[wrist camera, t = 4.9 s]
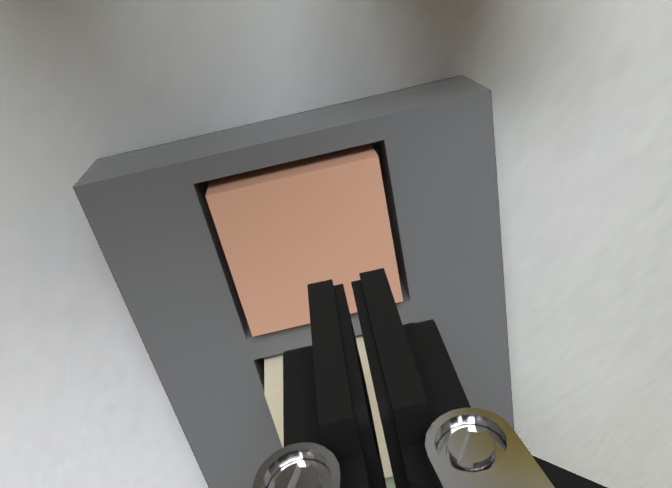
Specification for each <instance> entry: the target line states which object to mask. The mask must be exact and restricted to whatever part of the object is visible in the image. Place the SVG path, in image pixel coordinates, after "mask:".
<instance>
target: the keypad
mask: <svg viewBox="0 0 672 488" xmlns="http://www.w3.org/2000/svg"><path fill="white" fill-rule="evenodd" d="M369 143H371V145H372V147H373V148H374V150H375V152H376V153H377V155H378V157H379V163H380V169H381V175H382V180H383V186H384V192H385V198H386V204H387V210H388V216H389V221H390V227H391V233H392V239H393V245H394V251H395V256H396V262H397V268H398V274H399V280H400V286H401V291H402V297H403V302H398V303H396V306H397V309H398V312H399V315H400V318H401V322H402V325H408V324H413V323H418V322H422V321H427V320H431V319H433V320H434V321H435V323H436V325H437V328H438V330H439V332H440V335H441V337H442V340H443V342H444V344H445V347H446V349H447V352H448V354H449V356H450V359H451V361H452V363H453V366H454V368H455V371H456V373H457V375H458V378H459V380H460V383H461V385H462V387H463V390H464V392H465V395H466V397H467V399H468V402H469V404H470V406H471V408H480V409H484V410H487V411H491V412H493V413H495V414H496V415H498V416H500V417H502V418H503V419H504V420H505V421H506V422H507V423H508V424H509V425H510V426H511V427H512V428H513V430H514V421H513V406H512V391H511V377H510V362H509V347H508V332H507V318H506V303H505V288H504V274H503V259H502V244H501V229H500V215H499V200H498V185H497V171H496V156H495V141H494V127H493V112H492V97H491V90H489V89H487V88H485V87H483V86H481V85H480V84H478V83H476V82H474V81H472V80H470V79H468V78H467V77H465V76H463V75H462V76H458V77H453V78H449V79H445V80H440V81H436V82H432V83H427V84H423V85H419V86H414V87H410V88H406V89H401V90H397V91H393V92H388V93H384V94H380V95H375V96H371V97H366V98H362V99H358V100H353V101H349V102H345V103H340V104H336V105H332V106H327V107H323V108H319V109H314V110H310V111H306V112H301V113H297V114H293V115H288V116H284V117H280V118H275V119H271V120H266V121H262V122H258V123H253V124H249V125H245V126H240V127H236V128H232V129H227V130H223V131H219V132H214V133H210V134H206V135H201V136H197V137H193V138H188V139H184V140H180V141H175V142H171V143H166V144H162V145H158V146H153V147H149V148H145V149H140V150H136V151H132V152H127V153H123V154H119V155H114V156H110V157H106V158H101V159H97V160H96V161H95V162H94V163H93V165H92V166H91V167H90V168H89V169H88V170H87V171H86V173H85V174H84V175H83V176H82V177H81V178H80V179H79V181H78V182H77V183H76V184H75V185H74V186H73V188H74V191H75V193H76V195H77V197H78V199H79V202H80V204H81V206H82V208H83V211H84V213H85V215H86V217H87V219H88V222H89V224H90V226H91V228H92V230H93V233H94V235H95V237H96V239H97V241H98V244H99V246H100V248H101V250H102V253H103V255H104V257H105V259H106V261H107V264H108V266H109V268H110V270H111V272H112V275H113V277H114V279H115V281H116V283H117V286H118V288H119V290H120V292H121V295H122V297H123V299H124V301H125V303H126V306H127V308H128V310H129V312H130V314H131V317H132V319H133V321H134V323H135V325H136V328H137V330H138V332H139V334H140V337H141V339H142V341H143V343H144V345H145V348H146V350H147V352H148V354H149V356H150V359H151V361H152V363H153V365H154V367H155V370H156V372H157V374H158V376H159V379H160V381H161V383H162V385H163V387H164V390H165V392H166V394H167V396H168V398H169V401H170V403H171V405H172V407H173V409H174V412H175V414H176V416H177V418H178V421H179V423H180V425H181V427H182V429H183V432H184V434H185V436H186V438H187V440H188V443H189V445H190V447H191V449H192V451H193V454H194V456H195V458H196V460H197V463H198V465H199V467H200V469H201V471H202V474H203V476H204V478H205V480H206V482H207V485H208V487H209V488H252V485H253V481H254V479H255V476H256V473H257V471H258V469H259V468H260V467H261V465H262V464H263V463H264V461H265V460H266V459H267V458H268V457H270V456H271V455H272V454H273V453H274V452H276V451H277V450H279V449H282V448H283V447H282V445H281V442H280V439H279V436H278V433H277V430H276V427H275V424H274V421H273V418H272V415H271V413H270V410H269V407H268V404H267V401H266V398H265V395H264V358H265V357H269V356H273V355H277V354H281V353H284V351H288V350H292V349H297V348H302V347H306V346H311V345H312V336H311V324H310V323H309V324H305V325H301V326H297V327H292V328H288V329H284V330H280V331H275V332H271V333H267V334H263V335H258V336H254V337H252V334H251V331H250V328H249V325H248V322H247V319H246V316H245V313H244V310H243V307H242V304H241V301H240V298H239V295H238V292H237V289H236V286H235V283H234V280H233V277H232V274H231V271H230V268H229V265H228V262H227V259H226V256H225V253H224V250H223V247H222V244H221V241H220V238H219V235H218V232H217V229H216V226H215V223H214V220H213V217H212V214H211V212H210V209H209V206H208V203H207V200H206V197H205V196H206V192H207V188H208V184H209V180H213V179H217V178H222V177H226V176H230V175H235V174H239V173H243V172H248V171H252V170H256V169H261V168H265V167H269V166H274V165H278V164H282V163H287V162H291V161H295V160H300V159H304V158H308V157H313V156H317V155H321V154H326V153H330V152H334V151H339V150H343V149H347V148H352V147H356V146H360V145H365V144H369ZM350 316H351V320H352V325H353V329H354V334H355V336H358V335H362V331H361V326H360V322H359V317H358V312H356V313H352V314H350Z"/></svg>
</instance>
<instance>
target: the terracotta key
mask: <svg viewBox="0 0 672 488" xmlns="http://www.w3.org/2000/svg"><path fill="white" fill-rule="evenodd" d="M205 197H206V200H207V203H208V206H209V209H210V212H211V214H212V217H213V220H214V223H215V226H216V229H217V232H218V235H219V238H220V241H221V244H222V247H223V250H224V253H225V256H226V259H227V262H228V265H229V268H230V271H231V274H232V277H233V280H234V283H235V286H236V289H237V292H238V295H239V298H240V301H241V304H242V307H243V310H244V313H245V316H246V319H247V322H248V325H249V328H250V331H251V334H252V337H254V336H258V335H263V334H267V333H271V332H275V331H280V330H284V329H288V328H292V327H297V326H301V325H305V324H309V323H310V312H309V300H308V288H307V285H308V284H312V283H316V282H321V281H326V280H330V279H332V281H333V284H334V285H339V284H343V285H344V290H345V294H346V298H347V303H348V307H349V312H350V314H352V313H356V312H357V308H356V303H355V298H354V294H353V289H352V284H351V282H352V281H357V280H360V275H359V273H362V272H367V271H372V270H376V269H381V268H384V270H385V273H386V276H387V279H388V282H389V285H390V288H391V291H392V294H393V297H394V300H395V303H398V302H403V297H402V291H401V286H400V280H399V274H398V268H397V262H396V256H395V251H394V245H393V239H392V233H391V227H390V221H389V216H388V210H387V204H386V198H385V192H384V186H383V180H382V175H381V169H380V163H379V157H378V155H377V153H376V152H375V150H374V148H373V147H372V145H371V143H369V144H365V145H360V146H356V147H352V148H347V149H343V150H339V151H334V152H330V153H326V154H321V155H317V156H313V157H308V158H304V159H300V160H295V161H291V162H287V163H282V164H278V165H274V166H269V167H265V168H261V169H256V170H252V171H248V172H243V173H239V174H235V175H230V176H226V177H222V178H217V179H213V180H209V184H208V188H207V192H206V196H205Z"/></svg>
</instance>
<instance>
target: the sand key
mask: <svg viewBox="0 0 672 488" xmlns="http://www.w3.org/2000/svg"><path fill="white" fill-rule="evenodd" d="M403 326H404V325H403ZM355 338H356V342H357V347H358V351H359V355H360V360H361V364H362V369H363V373H364V377H365V382H366V387H367V391H368V396H369V401H370V406H371V411H372V416H373V421H374V426H375V431H376V436H377V441H378V447H379V452H380V457H381V462H382V467H383V472H384V477H385V478H388V477H392V476H393V473H392V469H391V464H390V460H389V455H388V451H387V446H386V442H385V437H384V432H383V428H382V423H381V419H380V414H379V410H378V405H377V400H376V396H375V391H374V387H373V382H372V377H371V373H370V368H369V363H368V359H367V354H366V349H365V345H364V340H363V335H358V336H355ZM264 395H265V398H266V401H267V404H268V407H269V410H270V413H271V415H272V418H273V421H274V424H275V427H276V430H277V433H278V436H279V439H280V442H281V445H282V447H283V448H284V432H283V353H281V354H277V355H273V356H269V357H265V358H264Z"/></svg>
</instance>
